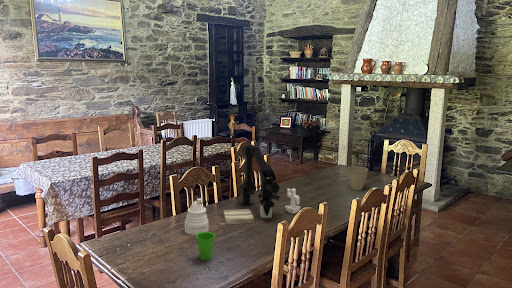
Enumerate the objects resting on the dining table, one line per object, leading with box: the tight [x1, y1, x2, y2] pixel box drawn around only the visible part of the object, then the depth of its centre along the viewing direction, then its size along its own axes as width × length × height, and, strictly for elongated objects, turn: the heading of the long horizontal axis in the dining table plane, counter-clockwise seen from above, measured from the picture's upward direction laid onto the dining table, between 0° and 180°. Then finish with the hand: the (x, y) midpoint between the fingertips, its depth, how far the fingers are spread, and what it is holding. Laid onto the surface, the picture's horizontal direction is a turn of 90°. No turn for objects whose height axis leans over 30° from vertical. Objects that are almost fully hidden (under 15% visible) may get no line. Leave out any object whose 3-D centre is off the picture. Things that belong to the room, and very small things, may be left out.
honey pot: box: [184, 198, 209, 236], centre depth 211 cm, size 13×13×18 cm
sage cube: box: [259, 204, 273, 219], centre depth 235 cm, size 6×6×6 cm
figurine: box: [284, 188, 302, 215], centre depth 241 cm, size 7×9×15 cm
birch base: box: [223, 208, 255, 225], centre depth 230 cm, size 16×16×2 cm
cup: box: [195, 231, 216, 261], centre depth 180 cm, size 9×9×11 cm
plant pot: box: [347, 166, 369, 191], centre depth 293 cm, size 15×15×16 cm
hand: (265, 213), depth 235 cm, fingers closed on sage cube, 6 cm apart
